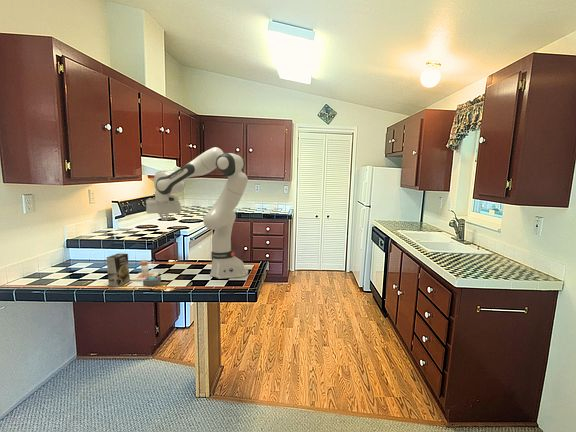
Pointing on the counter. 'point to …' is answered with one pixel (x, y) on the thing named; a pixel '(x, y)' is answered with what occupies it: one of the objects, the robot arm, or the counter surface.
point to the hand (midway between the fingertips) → (164, 220)
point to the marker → (144, 268)
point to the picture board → (141, 278)
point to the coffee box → (118, 270)
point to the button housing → (152, 281)
